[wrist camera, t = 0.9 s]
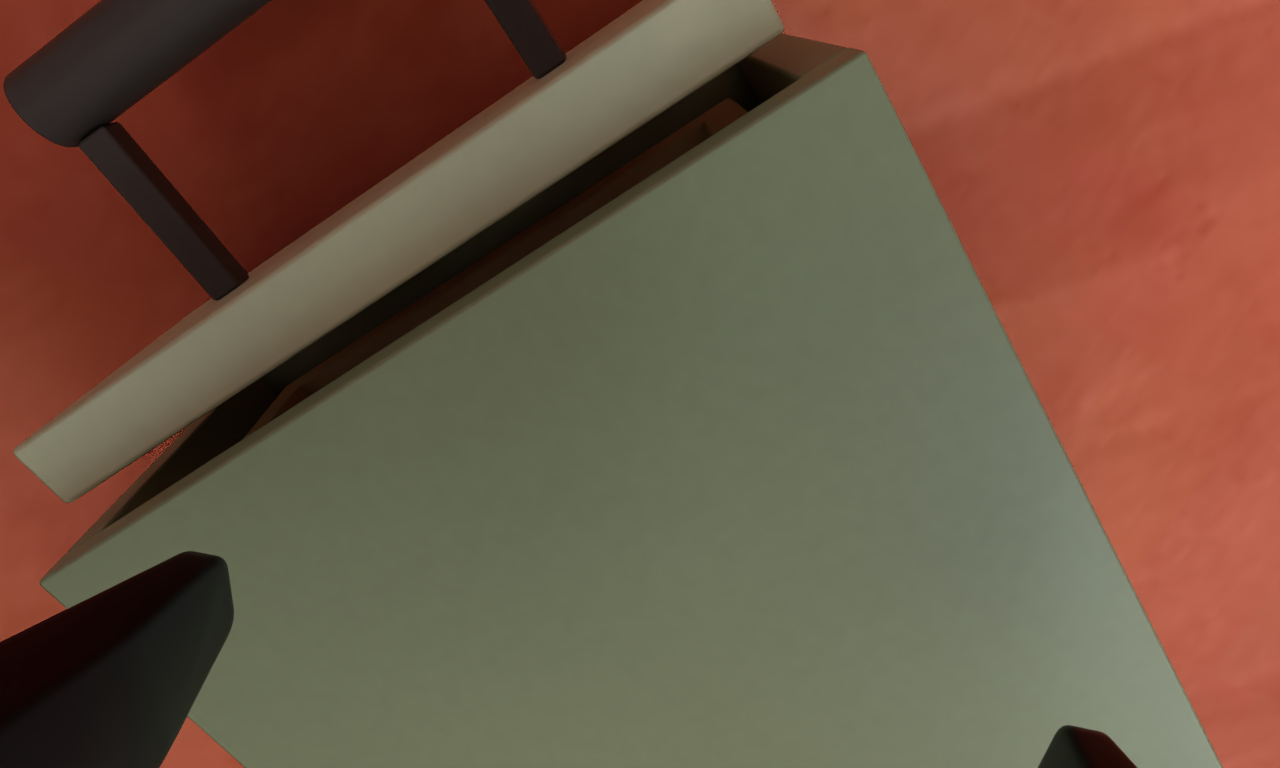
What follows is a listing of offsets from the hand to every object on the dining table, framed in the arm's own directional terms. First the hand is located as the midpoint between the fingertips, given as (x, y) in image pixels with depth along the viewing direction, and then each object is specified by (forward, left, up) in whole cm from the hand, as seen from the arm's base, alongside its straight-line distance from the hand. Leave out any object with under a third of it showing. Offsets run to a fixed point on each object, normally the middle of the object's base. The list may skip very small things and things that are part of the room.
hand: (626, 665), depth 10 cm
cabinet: (-1, -4, -13) cm, 14 cm away
